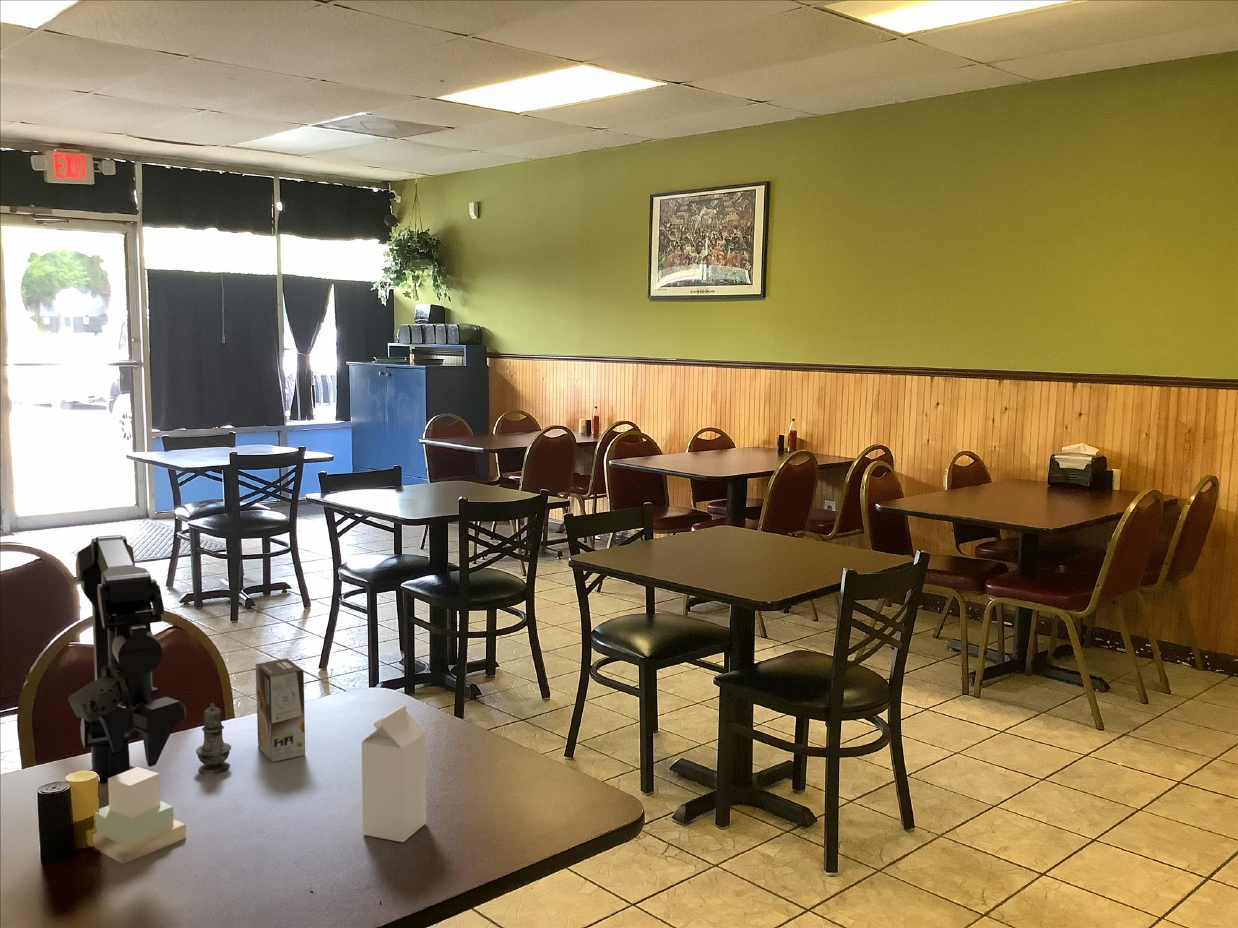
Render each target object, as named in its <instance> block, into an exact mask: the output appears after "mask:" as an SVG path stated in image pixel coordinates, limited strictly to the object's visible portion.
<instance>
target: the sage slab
mask: <svg viewBox="0 0 1238 928" xmlns="http://www.w3.org/2000/svg"><path fill="white" fill-rule="evenodd" d="M160 803H161V805H160V806H158V807H156V808H153V809H151V810H149V811H146V812H144V813H142V814H140V815H137V816H135V817H133V818H129V817H127V816H124V815H121V814H118V813H115V812H112V811H109V805H106V806H103V807H100V808H98V809H99V813H98V812H95V819H96V829H97V833H99V834H101V835H103V836H105V837H107V838H109V839H111V840H113V841H115V842H117V843H119V844H121V845H122V846H124V845H126V844H129V843H131V842H134V841H136V840H139V839H141V838H144V837H146V836H149V835H151V834H153V833H156V832H158V831H161V830H163V829H166V828H168V827H171V826H173V825H174V823H173V819H174V806H173V805H171V804H169V803H166V802H164V801H161V800H160Z"/></svg>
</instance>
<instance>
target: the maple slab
mask: <svg viewBox="0 0 1238 928" xmlns="http://www.w3.org/2000/svg"><path fill="white" fill-rule="evenodd" d="M173 823H174V825H173V826H171V827H168V828H166V829H163V830H161V831H158V832H156V833H153V834H151V835H149V836H146V837H144V838H141V839H139V840H136V841H134V842H131V843H129V844H126V845H124V846H122V845H121V844H119V843H117V842H115V841H113V840H111V839H109V838H107V837H105V836H103V835H101V834H99V833H95V834H93V843H94V846H95V848H96V849H98V850H100V851H101V852H103V853H105V854H106V856H107V855H108V856H107V857H110V858H111V857H112V858H111V859H114V860H115V861H117V862H118V863H120V864H122V863H123V864H122V865H125V864H126V863H127V864H128V863H129V862H131V861H132V862H133V861H134V860H136V859H139V858H141V857H143V855H144V856H146V855H149V854H151V853H153V852H155V850H156V851H158V850H160V849H162V848H165V847H167V845H168V846H170V845H172V844H174V843H177V842H180V841H181V840H185V839H186V838H187V825H186V823H184V822H182V821H179V820H178V819H175V818H173ZM179 840H180V841H179ZM96 849H95V850H96ZM98 850H97V851H98ZM101 852H100V853H101ZM103 853H102V854H103ZM148 853H149V854H148ZM105 854H104V855H105ZM124 863H125V864H124Z"/></svg>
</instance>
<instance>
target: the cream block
mask: <svg viewBox="0 0 1238 928" xmlns="http://www.w3.org/2000/svg"><path fill="white" fill-rule="evenodd" d="M160 782H161V778H160V773H159V772H156V771H152V770H149V769H146V768H142V767H140V766H136V767H135V768H133V769H131V770H128V771H126V772H123V773H121V774H118V775H116V776H113V777H111V778H108V784H107V785H108V786H107V789H108V790H107V791H108V806H109V811H112V812H115V813H118V814H121V815H124V816H127V817H129V818H133V817H135V816H137V815H140V814H142V813H144V812H146V811H149V810H151V809H153V808H156V807H158V806H160V805H161V803H160V801H161V783H160Z"/></svg>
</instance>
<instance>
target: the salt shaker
mask: <svg viewBox="0 0 1238 928" xmlns="http://www.w3.org/2000/svg"><path fill="white" fill-rule="evenodd" d="M209 705H210V707H207V708H206V709H205V710H204V712H203V727H202V728H201V730H202V732H203V744H202V745H200V746H198V747H197V748H196V750H195V754H197V757H198V760H199V762H200V763H202V765H200V766H199V767H198V769H197V771H198V773H200V774H202V775H218V774H222V773H223V772H226V771H228V770H229V769H230V768H231V764H230V763H229V762H226V760H227V759H228V758H229V756H230V751H231V749H232V746H231V744H230V743H228V742H227V743H226V742H224V739H223V738H224V737H223V730H224V728H225V726H224V725H222V710H221V709H220V708H219V707H216V706H215V703H213V702H211V703H210V704H209Z"/></svg>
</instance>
